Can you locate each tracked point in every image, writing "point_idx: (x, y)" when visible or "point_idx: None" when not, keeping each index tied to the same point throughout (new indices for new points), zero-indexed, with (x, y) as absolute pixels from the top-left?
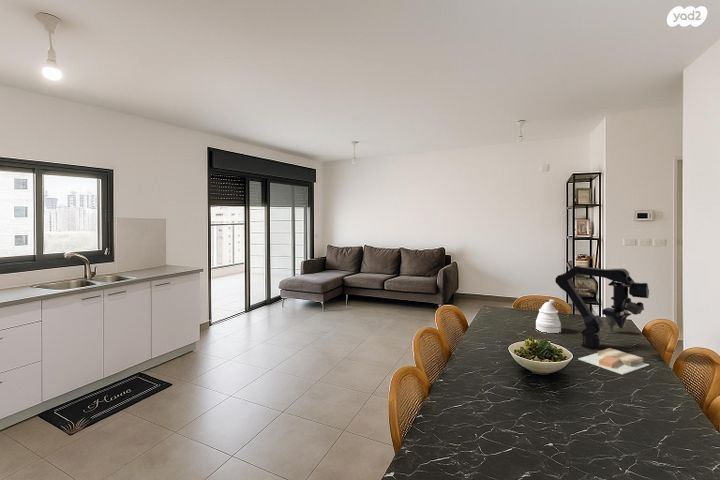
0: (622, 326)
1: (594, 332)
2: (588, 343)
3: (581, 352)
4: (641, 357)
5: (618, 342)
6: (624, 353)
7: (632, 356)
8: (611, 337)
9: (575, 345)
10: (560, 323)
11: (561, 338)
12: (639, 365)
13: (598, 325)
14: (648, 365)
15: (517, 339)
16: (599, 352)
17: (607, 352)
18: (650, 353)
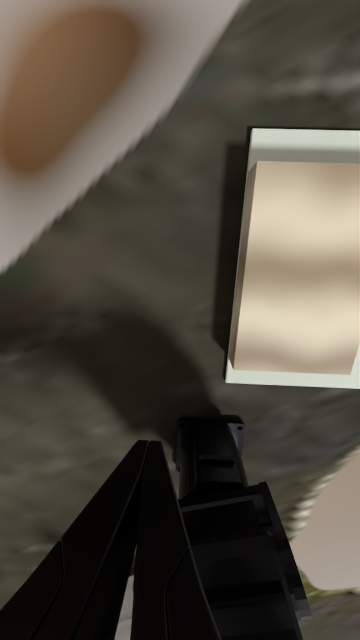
0: (144, 455)
1: (278, 515)
2: (241, 459)
3: (322, 426)
4: (257, 171)
5: (37, 409)
6: (263, 277)
7: (283, 217)
8: (3, 456)
9: (248, 480)
10: (127, 636)
11: None
12: (319, 155)
13: (276, 589)
14: (261, 130)
15: (357, 603)
16: (352, 364)
17: (323, 340)
18: (42, 241)
